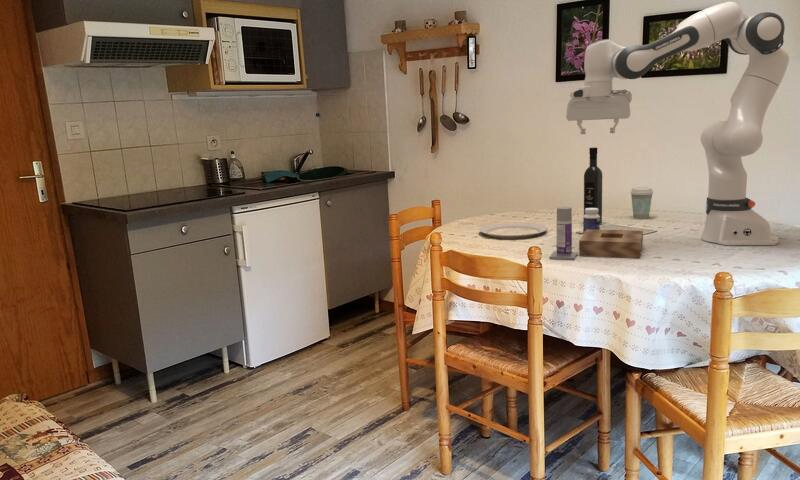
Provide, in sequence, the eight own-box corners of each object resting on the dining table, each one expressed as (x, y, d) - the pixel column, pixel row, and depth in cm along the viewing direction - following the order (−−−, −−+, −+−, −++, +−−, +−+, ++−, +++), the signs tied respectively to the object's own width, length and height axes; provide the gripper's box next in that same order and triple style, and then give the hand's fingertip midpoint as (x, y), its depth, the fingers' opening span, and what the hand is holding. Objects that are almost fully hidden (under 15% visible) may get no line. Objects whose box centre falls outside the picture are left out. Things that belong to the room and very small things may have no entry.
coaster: (577, 254, 200) (577, 252, 200) (574, 260, 194) (574, 257, 194) (553, 253, 203) (553, 251, 203) (549, 259, 197) (549, 256, 197)
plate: (554, 238, 226) (554, 233, 226) (484, 242, 226) (484, 237, 226) (538, 225, 251) (538, 220, 251) (475, 228, 251) (475, 224, 251)
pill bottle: (600, 237, 223) (600, 209, 221) (583, 237, 224) (583, 210, 222) (598, 233, 228) (599, 207, 226) (582, 234, 230) (582, 207, 227)
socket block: (642, 245, 207) (642, 230, 206) (639, 258, 191) (639, 242, 190) (586, 243, 215) (586, 229, 214) (579, 255, 199) (579, 240, 198)
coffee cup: (625, 217, 256) (626, 188, 253) (642, 215, 258) (643, 186, 256) (639, 220, 248) (639, 190, 245) (657, 218, 250) (658, 188, 248)
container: (569, 252, 201) (569, 206, 198) (573, 255, 196) (573, 208, 193) (554, 252, 201) (554, 206, 198) (558, 256, 196) (558, 209, 193)
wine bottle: (596, 226, 242) (596, 148, 236) (582, 225, 246) (583, 148, 239) (602, 223, 246) (603, 147, 240) (589, 222, 250) (590, 147, 243)
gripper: (632, 89, 204) (631, 131, 207) (568, 93, 212) (568, 134, 215) (631, 89, 198) (630, 133, 201) (565, 93, 207) (565, 135, 210)
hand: (597, 133), depth 208 cm, fingers open, 8 cm apart
